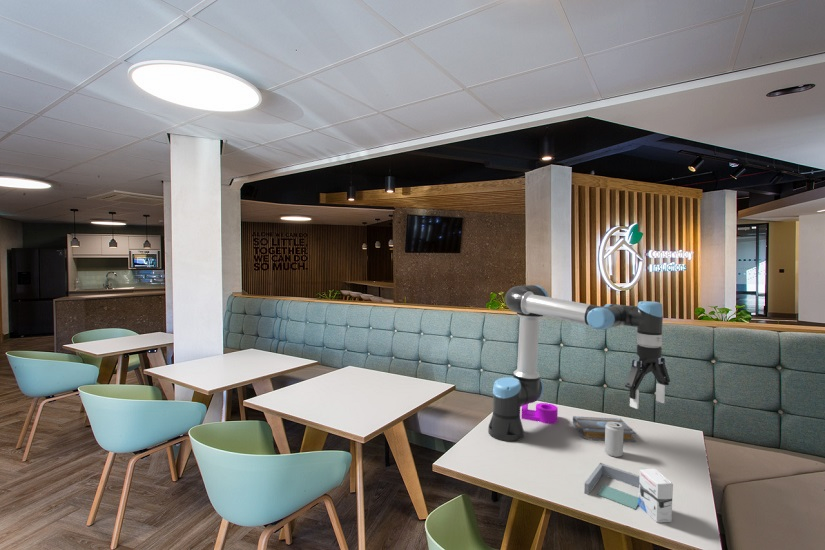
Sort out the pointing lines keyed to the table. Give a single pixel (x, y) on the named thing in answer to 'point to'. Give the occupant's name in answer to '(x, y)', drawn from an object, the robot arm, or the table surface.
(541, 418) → the tape dispenser
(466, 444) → the table surface
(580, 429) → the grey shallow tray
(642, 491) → the ink box
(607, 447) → the beverage can
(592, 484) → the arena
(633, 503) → the mat
